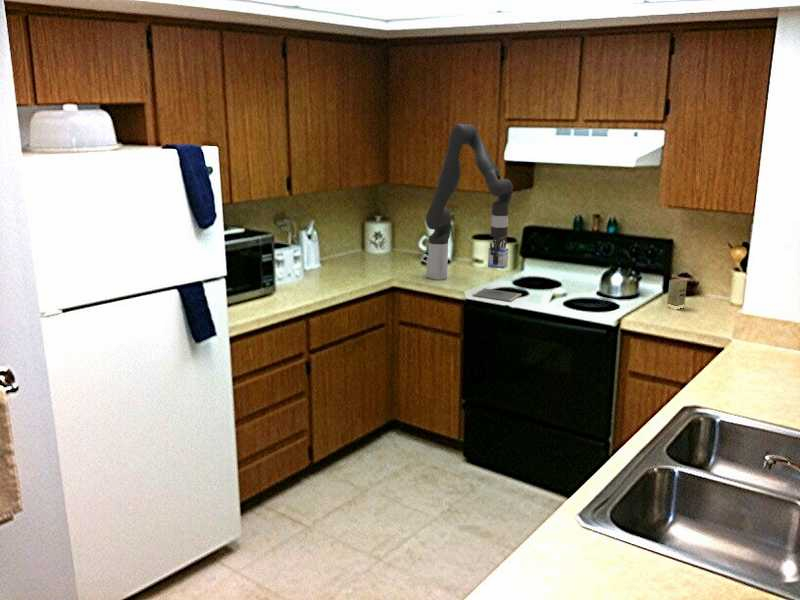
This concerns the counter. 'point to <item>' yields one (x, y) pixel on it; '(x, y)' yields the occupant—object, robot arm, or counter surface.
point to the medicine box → (499, 259)
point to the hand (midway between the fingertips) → (497, 263)
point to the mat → (496, 295)
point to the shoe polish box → (677, 292)
